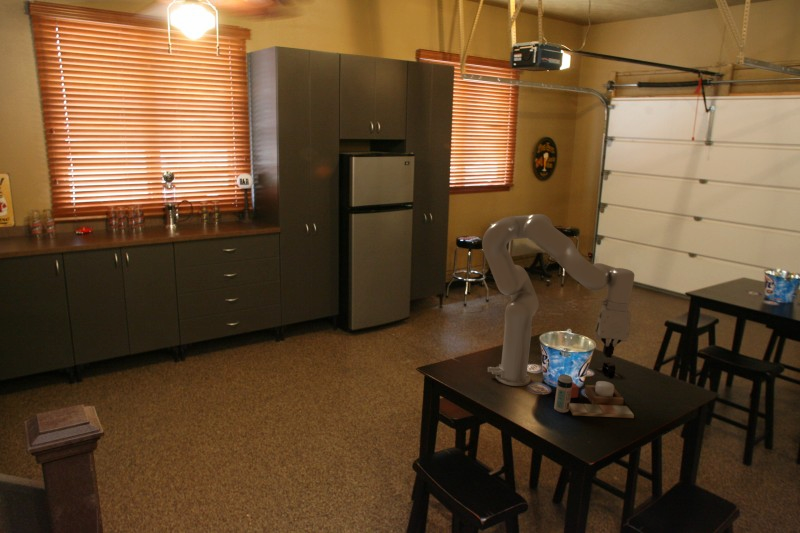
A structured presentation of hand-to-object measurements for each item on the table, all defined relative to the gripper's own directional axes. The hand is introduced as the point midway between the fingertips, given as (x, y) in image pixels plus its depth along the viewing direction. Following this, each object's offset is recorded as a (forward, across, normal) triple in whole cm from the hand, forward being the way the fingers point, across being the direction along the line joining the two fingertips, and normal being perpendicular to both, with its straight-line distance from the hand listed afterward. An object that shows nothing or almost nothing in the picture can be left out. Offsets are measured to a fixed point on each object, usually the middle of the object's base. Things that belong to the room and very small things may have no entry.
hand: (607, 355), depth 201 cm
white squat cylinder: (+16, +1, 0) cm, 16 cm away
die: (+17, -10, +2) cm, 19 cm away
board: (+16, -3, -10) cm, 19 cm away
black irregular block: (+17, +11, +23) cm, 31 cm away
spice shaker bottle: (+17, -16, -10) cm, 25 cm away
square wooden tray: (+16, +1, 0) cm, 16 cm away
